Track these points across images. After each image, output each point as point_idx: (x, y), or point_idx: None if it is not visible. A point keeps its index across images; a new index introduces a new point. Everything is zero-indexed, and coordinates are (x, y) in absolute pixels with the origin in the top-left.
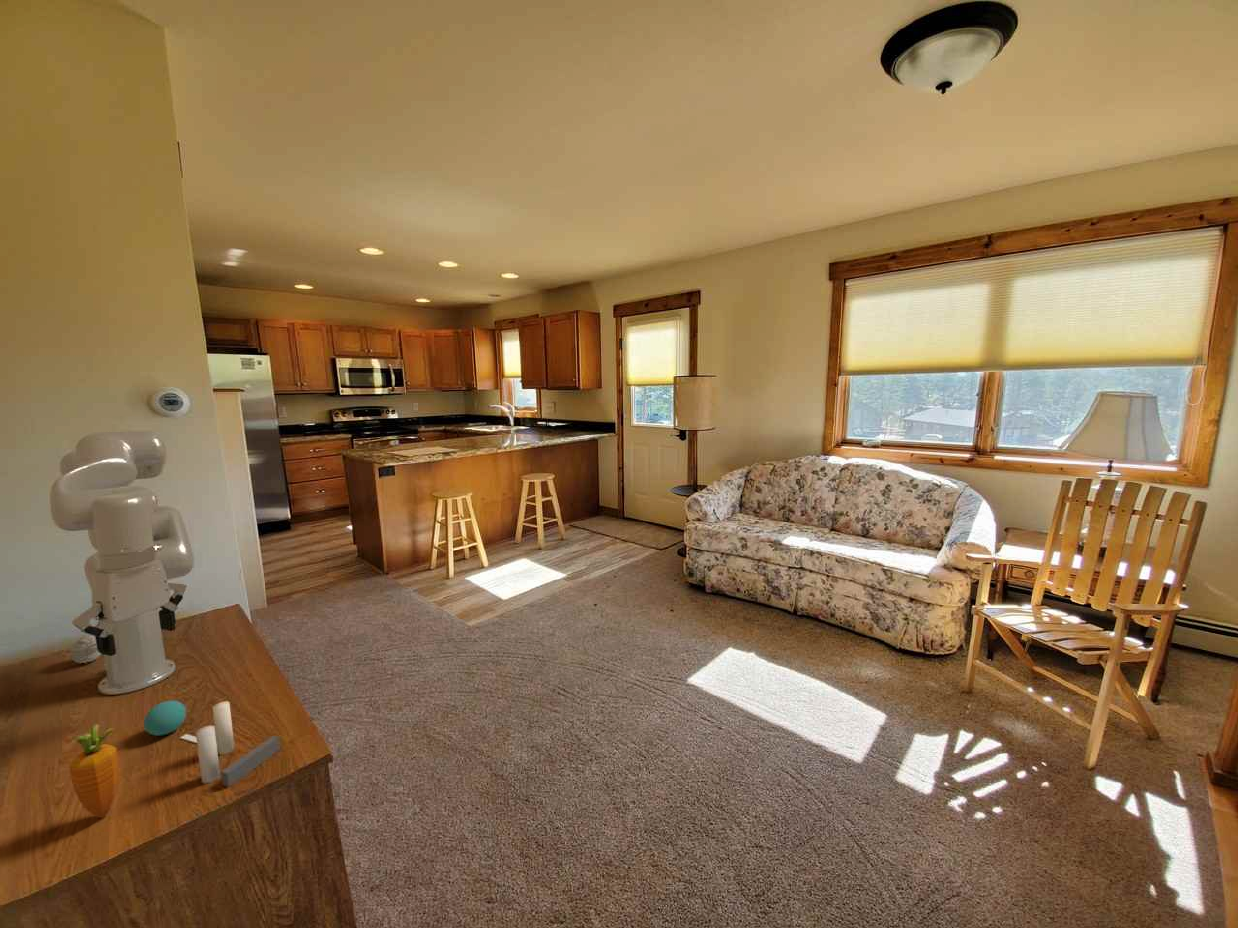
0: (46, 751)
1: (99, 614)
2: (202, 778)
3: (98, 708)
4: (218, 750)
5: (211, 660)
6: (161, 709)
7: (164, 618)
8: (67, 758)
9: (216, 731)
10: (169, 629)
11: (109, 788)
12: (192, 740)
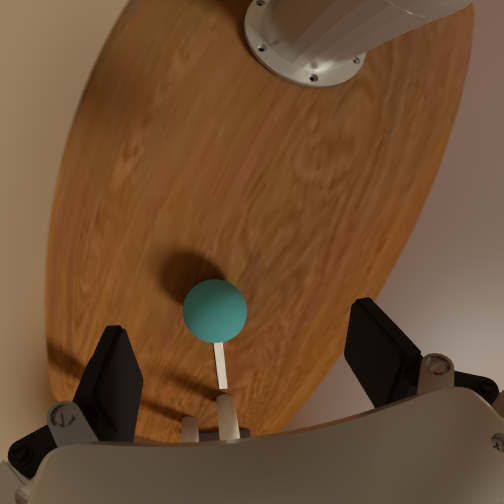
0: (98, 156)
1: (66, 469)
2: (181, 424)
3: (208, 73)
4: (216, 403)
5: (397, 112)
6: (205, 337)
7: (374, 367)
8: (105, 218)
9: (218, 426)
10: (347, 351)
11: None
12: (216, 354)
